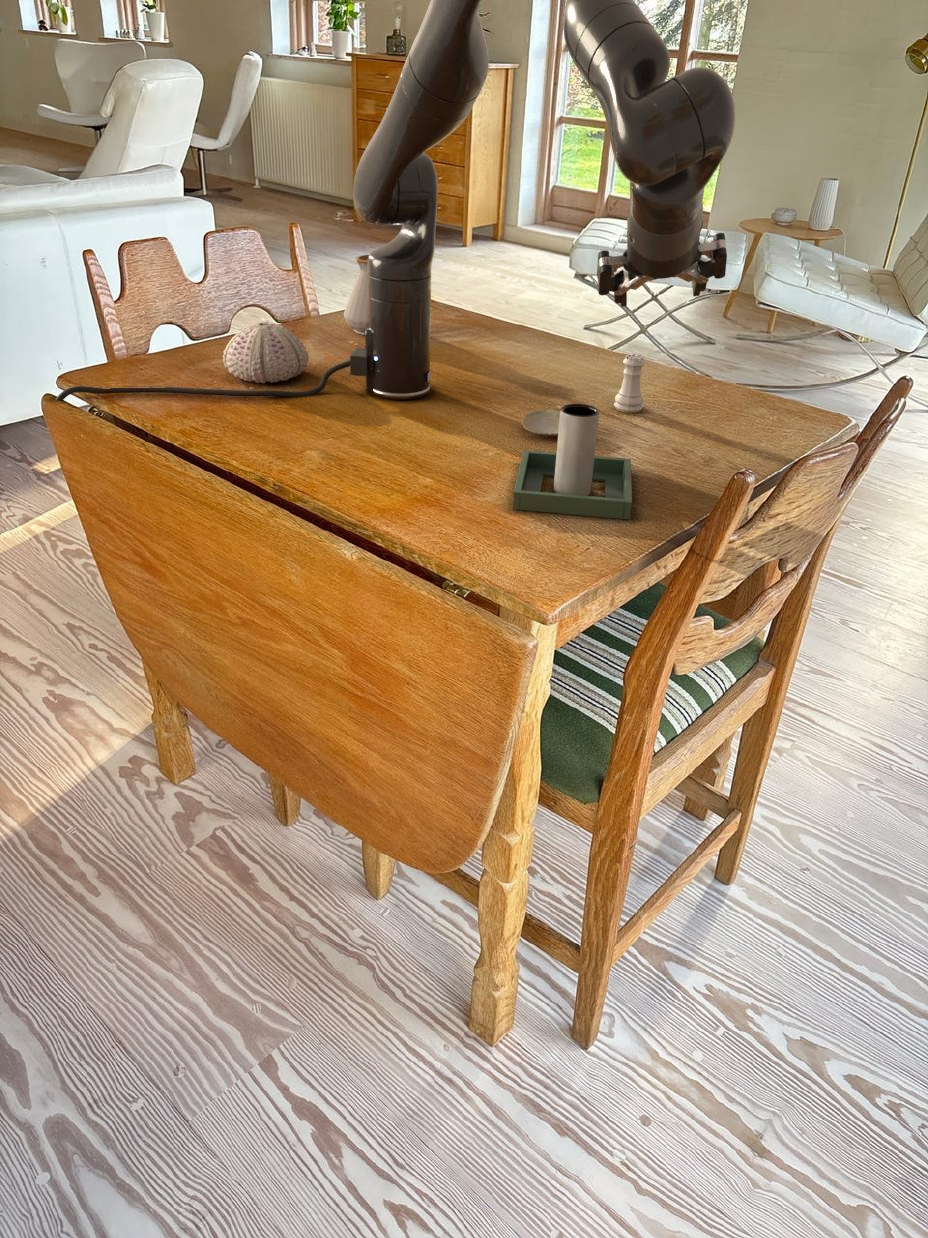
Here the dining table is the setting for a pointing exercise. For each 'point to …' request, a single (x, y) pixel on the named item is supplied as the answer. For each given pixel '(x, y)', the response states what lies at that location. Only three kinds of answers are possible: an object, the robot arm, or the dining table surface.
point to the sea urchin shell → (265, 354)
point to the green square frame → (611, 506)
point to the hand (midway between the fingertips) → (658, 293)
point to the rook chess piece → (630, 386)
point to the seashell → (542, 422)
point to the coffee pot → (359, 300)
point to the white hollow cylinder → (576, 449)
